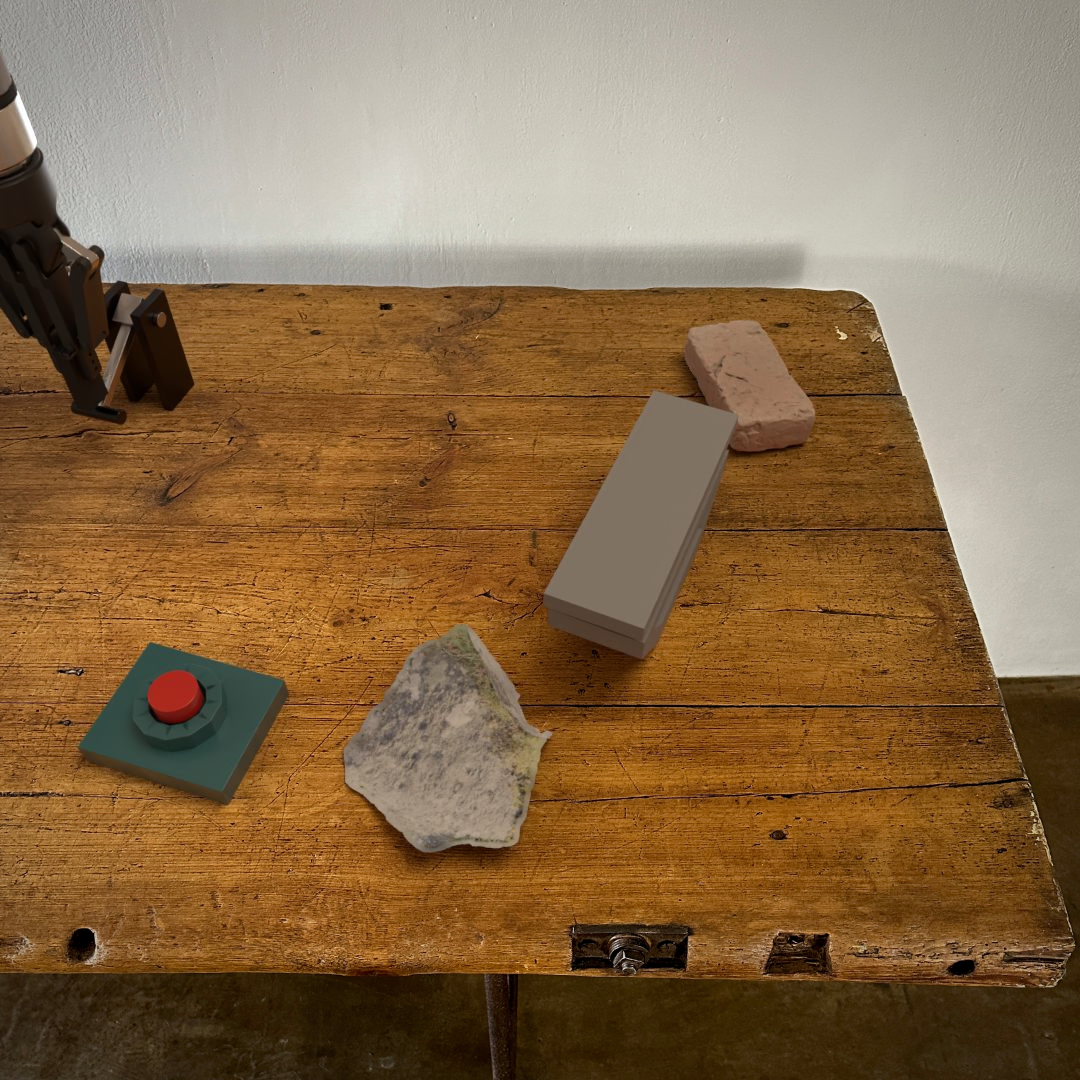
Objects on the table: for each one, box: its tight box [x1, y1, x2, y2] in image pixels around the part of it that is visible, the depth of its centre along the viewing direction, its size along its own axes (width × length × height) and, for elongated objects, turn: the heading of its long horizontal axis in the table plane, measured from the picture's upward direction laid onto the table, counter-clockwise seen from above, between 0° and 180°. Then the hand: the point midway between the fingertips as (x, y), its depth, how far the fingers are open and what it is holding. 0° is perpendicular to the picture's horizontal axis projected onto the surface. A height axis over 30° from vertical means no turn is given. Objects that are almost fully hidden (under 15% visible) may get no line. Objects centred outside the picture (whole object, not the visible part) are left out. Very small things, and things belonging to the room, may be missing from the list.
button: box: [148, 671, 203, 724], centre depth 73 cm, size 4×4×2 cm
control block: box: [77, 641, 290, 806], centre depth 74 cm, size 12×10×4 cm
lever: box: [70, 293, 145, 426], centre depth 91 cm, size 12×5×2 cm, turn 163°
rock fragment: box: [343, 623, 553, 853], centre depth 72 cm, size 15×16×5 cm
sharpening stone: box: [542, 390, 739, 660], centre depth 82 cm, size 25×8×11 cm, turn 157°
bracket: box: [104, 279, 195, 412], centre depth 96 cm, size 12×9×13 cm
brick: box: [683, 319, 816, 452], centre depth 101 cm, size 17×8×5 cm, turn 13°
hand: (93, 400), depth 89 cm, fingers closed
